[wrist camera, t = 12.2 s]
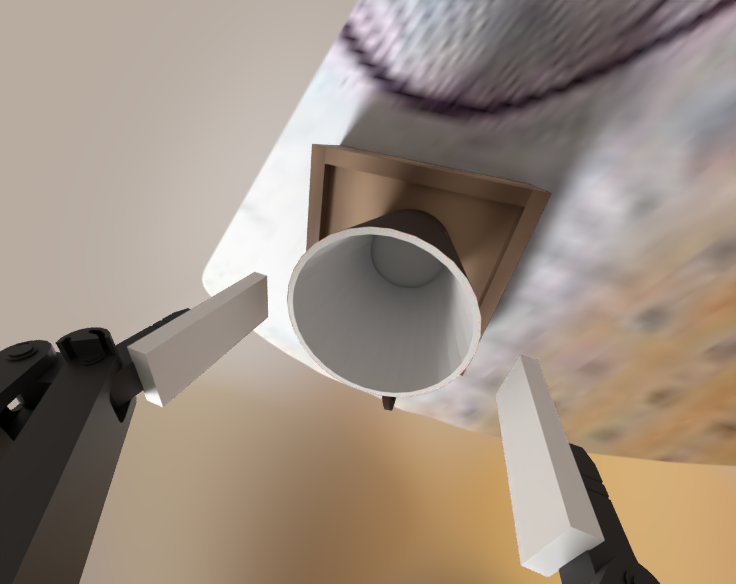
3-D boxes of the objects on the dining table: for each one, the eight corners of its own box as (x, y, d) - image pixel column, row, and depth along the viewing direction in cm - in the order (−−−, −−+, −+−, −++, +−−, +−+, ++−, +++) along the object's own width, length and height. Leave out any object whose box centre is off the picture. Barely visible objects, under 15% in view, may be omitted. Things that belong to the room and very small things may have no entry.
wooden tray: (530, 184, 20) (551, 193, 15) (461, 340, 27) (462, 375, 23) (339, 145, 22) (312, 143, 18) (324, 298, 30) (302, 323, 25)
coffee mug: (378, 170, 18) (314, 187, 10) (494, 225, 18) (532, 292, 9) (330, 300, 24) (263, 380, 16) (415, 343, 24) (395, 449, 15)
